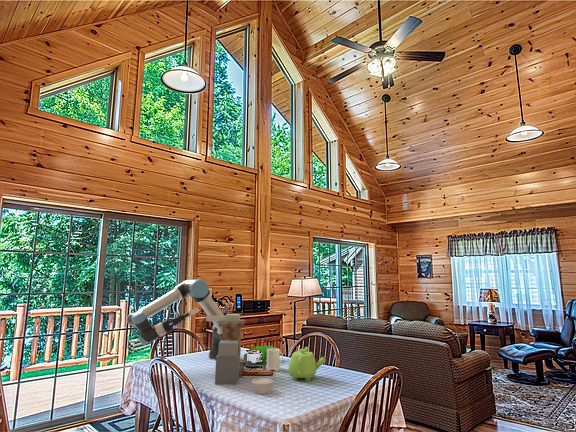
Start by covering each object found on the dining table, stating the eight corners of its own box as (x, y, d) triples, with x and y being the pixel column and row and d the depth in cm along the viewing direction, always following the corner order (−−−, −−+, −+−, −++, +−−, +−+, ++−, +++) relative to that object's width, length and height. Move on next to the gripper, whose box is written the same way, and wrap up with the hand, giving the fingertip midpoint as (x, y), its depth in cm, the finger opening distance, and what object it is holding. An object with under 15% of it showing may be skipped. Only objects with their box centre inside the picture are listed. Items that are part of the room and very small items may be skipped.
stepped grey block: (214, 384, 201) (216, 343, 204) (217, 378, 213) (219, 339, 216) (237, 384, 202) (238, 343, 205) (239, 378, 214) (240, 339, 217)
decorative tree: (243, 344, 249) (276, 338, 270) (239, 360, 251) (272, 352, 272) (253, 354, 241) (286, 346, 262) (248, 370, 243) (282, 361, 264)
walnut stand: (216, 377, 215) (218, 323, 220) (220, 368, 235) (222, 319, 239) (241, 377, 216) (242, 323, 220) (243, 368, 235) (245, 319, 240)
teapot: (323, 385, 204) (324, 354, 206) (285, 382, 208) (285, 352, 211) (328, 373, 228) (328, 346, 230) (293, 371, 232) (293, 344, 235)
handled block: (205, 321, 225) (205, 314, 226) (207, 320, 233) (207, 313, 234) (238, 322, 226) (238, 315, 227) (239, 320, 234) (239, 313, 235)
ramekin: (262, 387, 198) (262, 376, 199) (278, 391, 191) (278, 380, 192) (246, 391, 189) (247, 380, 190) (263, 396, 182) (263, 385, 183)
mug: (279, 366, 243) (279, 347, 245) (286, 369, 236) (287, 349, 238) (263, 368, 237) (264, 348, 238) (270, 371, 230) (271, 351, 231)
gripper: (172, 330, 239) (202, 313, 242) (161, 336, 214) (195, 317, 217) (167, 319, 240) (197, 303, 242) (155, 324, 215) (189, 306, 218)
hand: (196, 309), depth 230 cm, fingers open, 13 cm apart
